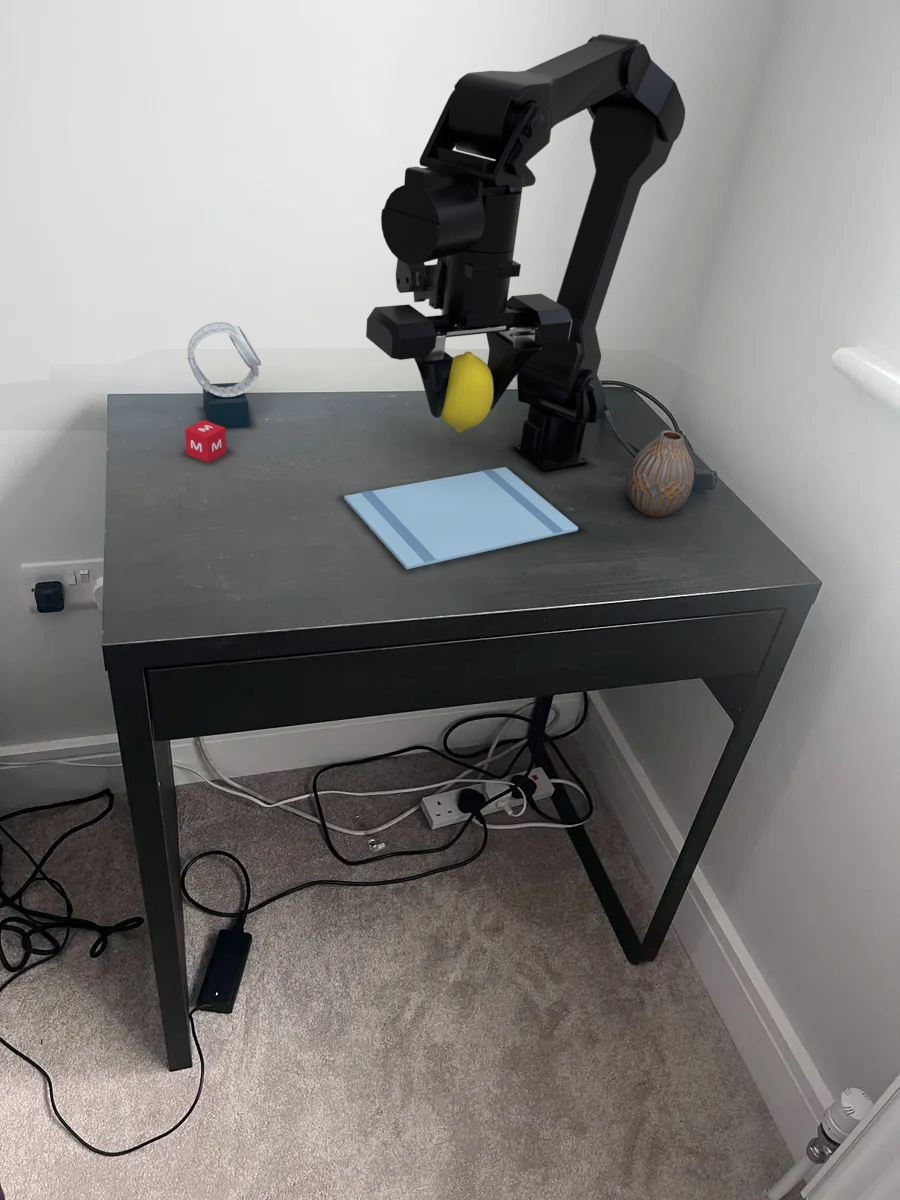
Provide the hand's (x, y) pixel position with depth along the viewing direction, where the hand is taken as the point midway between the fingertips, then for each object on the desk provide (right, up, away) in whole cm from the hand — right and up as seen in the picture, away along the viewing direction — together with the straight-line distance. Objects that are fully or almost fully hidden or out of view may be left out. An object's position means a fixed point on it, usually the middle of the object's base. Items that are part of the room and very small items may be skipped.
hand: (462, 412), depth 88 cm
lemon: (0, -2, +1) cm, 2 cm away
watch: (-27, +3, +20) cm, 34 cm away
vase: (+21, -8, +13) cm, 26 cm away
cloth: (0, -9, +7) cm, 12 cm away
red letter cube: (-28, -2, +12) cm, 30 cm away
